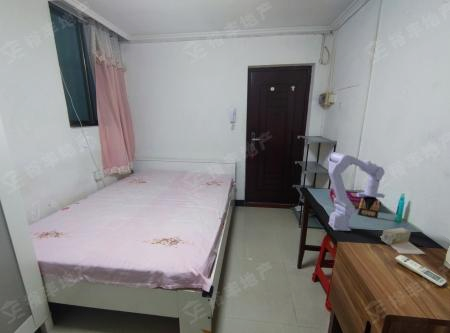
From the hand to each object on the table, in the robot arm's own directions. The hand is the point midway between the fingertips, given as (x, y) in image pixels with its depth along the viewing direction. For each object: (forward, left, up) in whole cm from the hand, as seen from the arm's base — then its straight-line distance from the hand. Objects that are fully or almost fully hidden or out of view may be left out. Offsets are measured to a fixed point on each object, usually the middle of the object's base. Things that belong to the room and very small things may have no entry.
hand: (367, 208), depth 125 cm
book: (+11, +32, -11) cm, 36 cm away
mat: (+6, -20, -10) cm, 23 cm away
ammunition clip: (+9, +12, -11) cm, 18 cm away
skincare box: (-2, -19, -7) cm, 20 cm away
